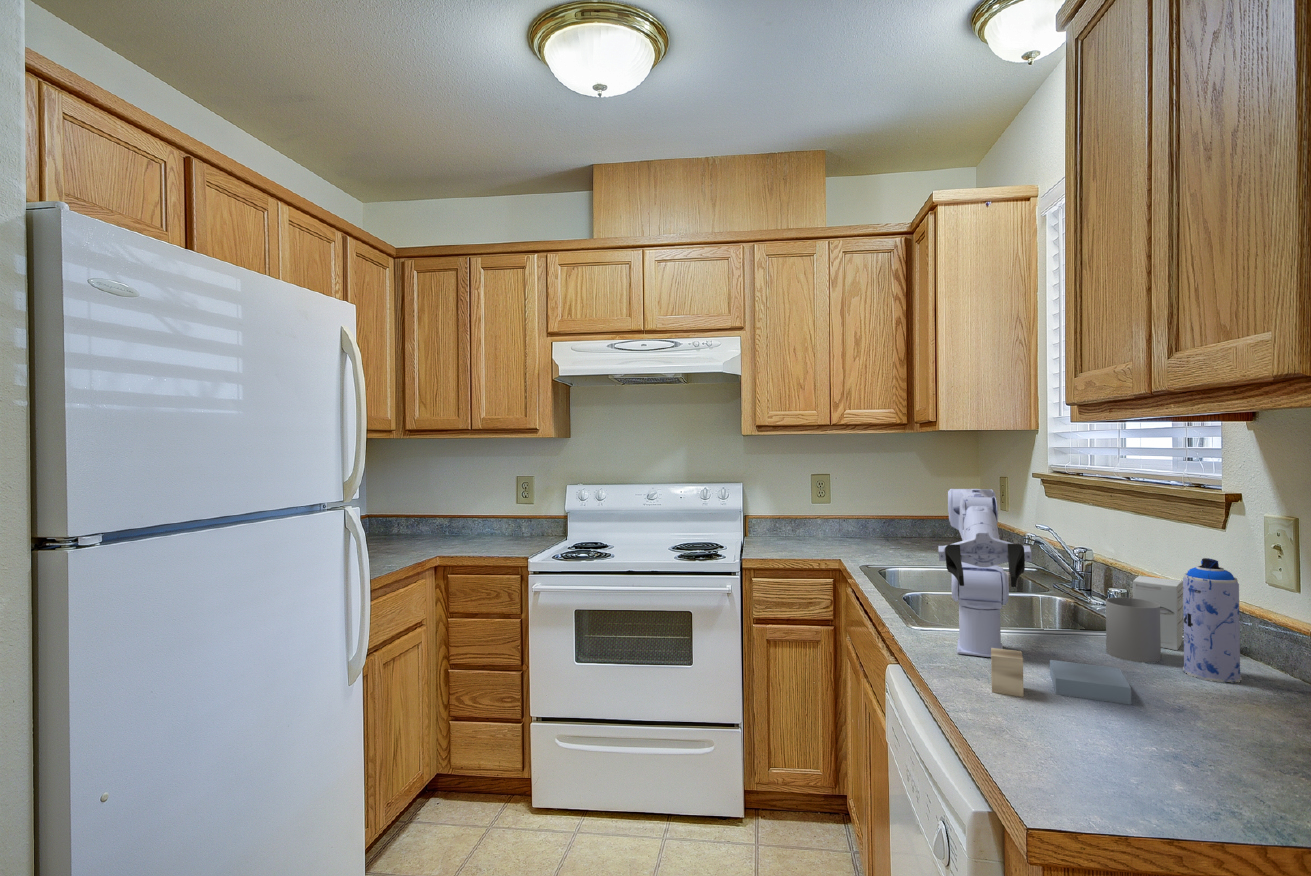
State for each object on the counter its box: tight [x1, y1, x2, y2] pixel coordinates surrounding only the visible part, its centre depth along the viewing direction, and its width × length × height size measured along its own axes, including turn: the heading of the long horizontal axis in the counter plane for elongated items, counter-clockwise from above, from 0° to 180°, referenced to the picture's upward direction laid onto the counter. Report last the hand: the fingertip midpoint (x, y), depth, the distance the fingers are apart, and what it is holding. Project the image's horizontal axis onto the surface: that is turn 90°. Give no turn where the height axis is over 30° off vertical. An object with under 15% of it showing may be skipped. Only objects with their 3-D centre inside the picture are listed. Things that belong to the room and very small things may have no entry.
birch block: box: [990, 648, 1024, 698], centre depth 109 cm, size 4×4×6 cm
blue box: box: [1049, 659, 1132, 706], centre depth 109 cm, size 10×10×3 cm
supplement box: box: [1132, 575, 1184, 651], centre depth 133 cm, size 7×7×13 cm
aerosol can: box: [1182, 557, 1243, 683], centre depth 115 cm, size 8×8×20 cm
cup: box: [1105, 596, 1162, 663], centre depth 125 cm, size 8×8×10 cm
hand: (987, 581), depth 109 cm, fingers open, 7 cm apart
